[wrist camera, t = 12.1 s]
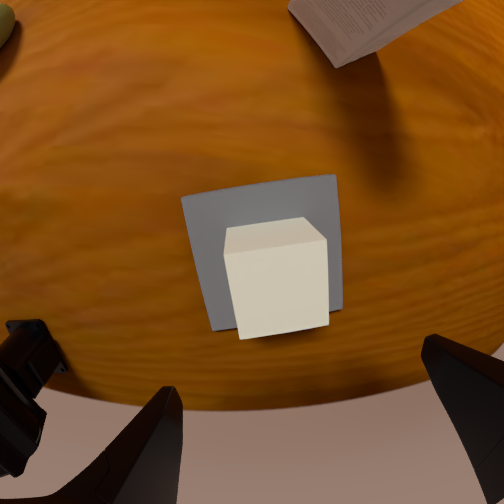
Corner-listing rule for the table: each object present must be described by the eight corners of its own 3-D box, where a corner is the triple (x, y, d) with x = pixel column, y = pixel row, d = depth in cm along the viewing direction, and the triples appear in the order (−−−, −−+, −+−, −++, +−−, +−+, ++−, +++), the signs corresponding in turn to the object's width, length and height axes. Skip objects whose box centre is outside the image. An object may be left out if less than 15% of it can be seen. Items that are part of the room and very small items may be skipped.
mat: (213, 325, 21) (212, 331, 21) (183, 196, 18) (181, 198, 17) (339, 303, 21) (342, 308, 21) (331, 174, 18) (335, 174, 17)
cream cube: (238, 296, 20) (239, 339, 15) (226, 228, 18) (223, 254, 13) (308, 285, 20) (328, 324, 15) (303, 217, 18) (326, 239, 13)
